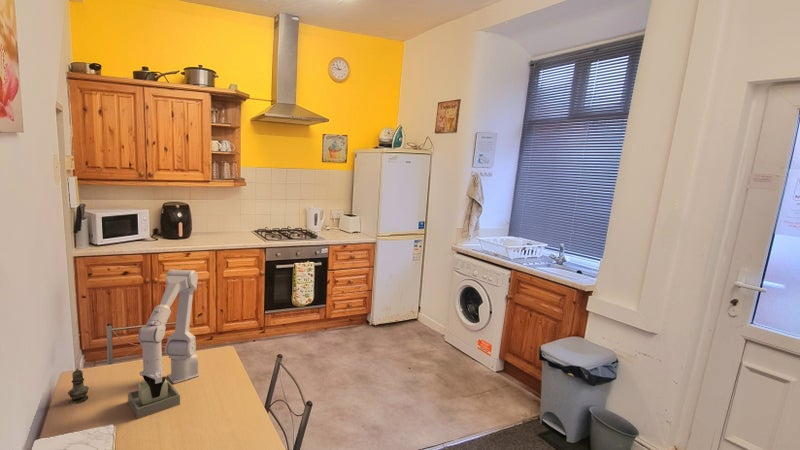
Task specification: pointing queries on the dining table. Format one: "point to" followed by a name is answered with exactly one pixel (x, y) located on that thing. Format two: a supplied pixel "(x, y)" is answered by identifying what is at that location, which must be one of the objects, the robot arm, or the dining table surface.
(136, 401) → the big crate
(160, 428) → the dining table surface
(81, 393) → the dark ornate statuette
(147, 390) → the small crate
